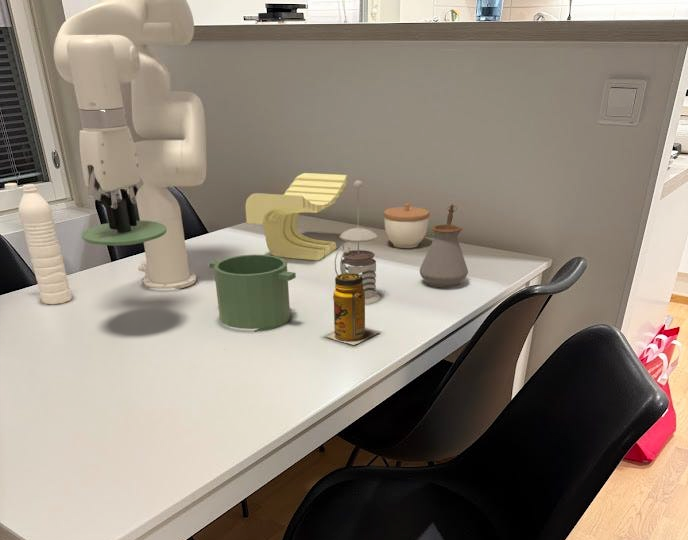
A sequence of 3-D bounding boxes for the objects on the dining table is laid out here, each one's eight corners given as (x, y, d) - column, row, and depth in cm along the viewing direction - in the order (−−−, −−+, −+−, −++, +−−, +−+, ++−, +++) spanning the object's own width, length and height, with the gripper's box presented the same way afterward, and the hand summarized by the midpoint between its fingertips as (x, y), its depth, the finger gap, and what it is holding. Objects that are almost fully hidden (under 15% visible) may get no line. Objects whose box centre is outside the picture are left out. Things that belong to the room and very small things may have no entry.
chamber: (275, 338, 134) (271, 281, 128) (196, 322, 142) (188, 267, 136) (313, 315, 145) (311, 261, 139) (237, 301, 153) (232, 249, 147)
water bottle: (77, 296, 158) (51, 181, 144) (62, 305, 152) (33, 187, 139) (43, 294, 159) (14, 181, 146) (27, 303, 154) (-5, 186, 141)
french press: (389, 296, 154) (391, 179, 141) (354, 309, 147) (353, 188, 134) (357, 287, 160) (356, 174, 147) (322, 300, 153) (318, 182, 140)
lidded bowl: (430, 250, 187) (432, 208, 181) (384, 251, 187) (384, 209, 181) (425, 238, 197) (427, 199, 192) (382, 239, 198) (383, 199, 192)
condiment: (325, 337, 134) (323, 277, 128) (352, 325, 139) (352, 267, 133) (353, 346, 130) (353, 284, 124) (380, 333, 135) (381, 273, 129)
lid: (126, 252, 121) (118, 214, 117) (64, 242, 127) (56, 205, 124) (183, 232, 132) (178, 196, 129) (124, 223, 139) (118, 188, 135)
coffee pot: (465, 291, 157) (471, 224, 149) (416, 288, 159) (418, 222, 151) (471, 265, 174) (476, 204, 166) (426, 263, 176) (429, 203, 168)
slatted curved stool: (297, 236, 202) (294, 172, 192) (347, 240, 197) (346, 175, 187) (250, 263, 178) (244, 192, 169) (305, 269, 173) (302, 195, 164)
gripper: (121, 113, 126) (139, 215, 136) (51, 124, 115) (76, 235, 125) (151, 115, 123) (167, 220, 133) (83, 126, 111) (106, 240, 121)
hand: (123, 226), depth 129 cm, fingers closed on lid, 2 cm apart
